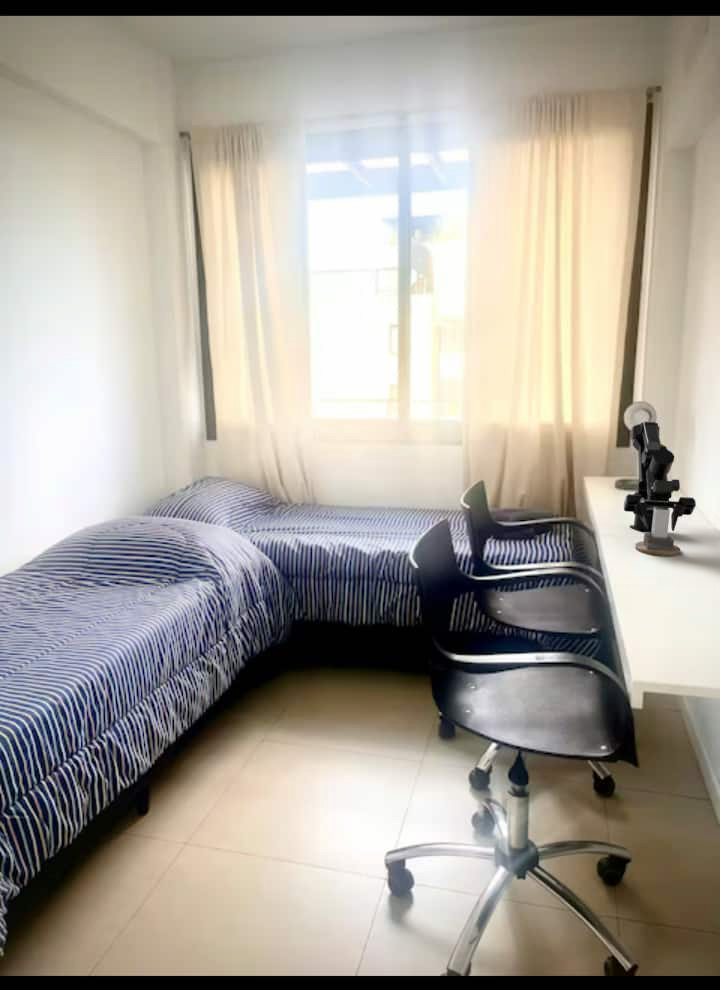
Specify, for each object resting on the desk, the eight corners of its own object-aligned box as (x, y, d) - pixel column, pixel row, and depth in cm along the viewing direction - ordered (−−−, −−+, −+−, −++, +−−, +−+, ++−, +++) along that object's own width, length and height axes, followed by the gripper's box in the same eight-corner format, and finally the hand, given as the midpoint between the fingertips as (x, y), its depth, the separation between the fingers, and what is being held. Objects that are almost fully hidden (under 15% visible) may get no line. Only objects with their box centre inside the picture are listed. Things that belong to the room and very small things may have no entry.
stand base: (632, 542, 207) (633, 530, 206) (675, 545, 205) (676, 532, 204) (638, 554, 196) (640, 541, 195) (684, 557, 193) (685, 544, 192)
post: (649, 543, 202) (653, 506, 200) (663, 544, 201) (667, 507, 199) (652, 547, 198) (656, 509, 196) (666, 548, 198) (670, 510, 195)
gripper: (629, 467, 201) (631, 512, 193) (698, 470, 197) (703, 517, 189) (622, 488, 210) (624, 532, 202) (688, 491, 206) (693, 537, 198)
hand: (660, 529), depth 197 cm, fingers open, 6 cm apart
